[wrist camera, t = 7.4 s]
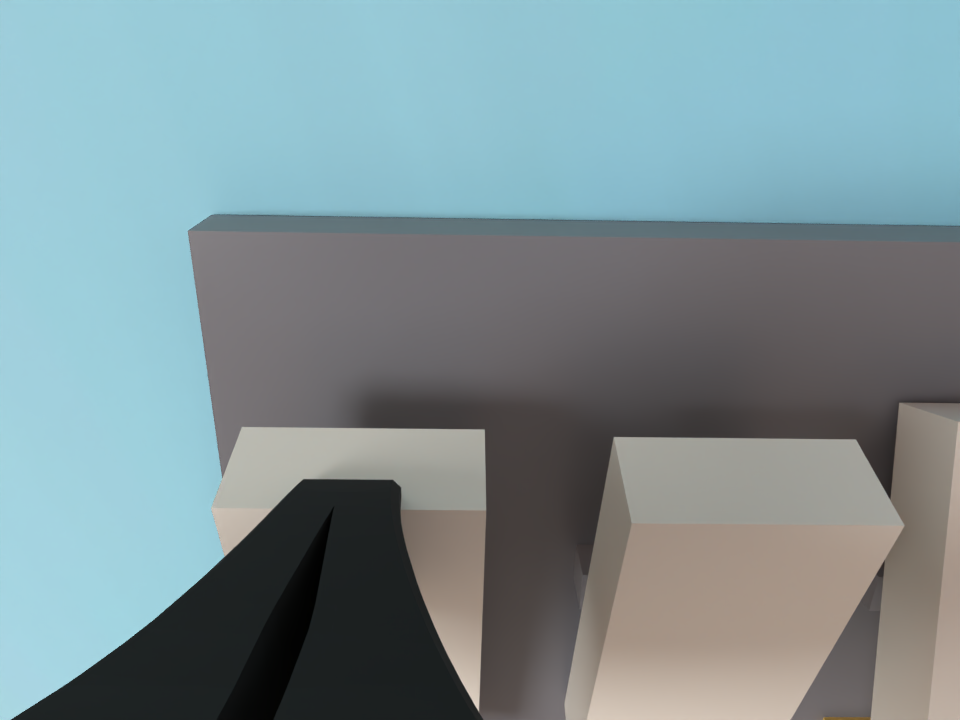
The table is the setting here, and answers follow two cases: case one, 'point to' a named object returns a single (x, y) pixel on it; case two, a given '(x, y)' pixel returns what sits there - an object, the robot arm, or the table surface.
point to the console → (580, 374)
